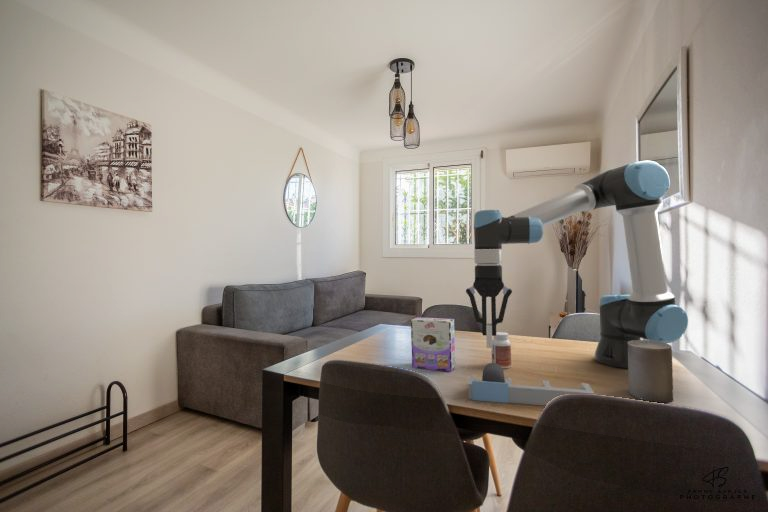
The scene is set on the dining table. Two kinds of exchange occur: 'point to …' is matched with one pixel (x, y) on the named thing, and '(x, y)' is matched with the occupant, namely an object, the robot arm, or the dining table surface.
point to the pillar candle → (650, 370)
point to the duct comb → (518, 392)
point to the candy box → (433, 343)
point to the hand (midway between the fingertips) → (489, 346)
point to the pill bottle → (501, 350)
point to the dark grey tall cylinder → (493, 373)
